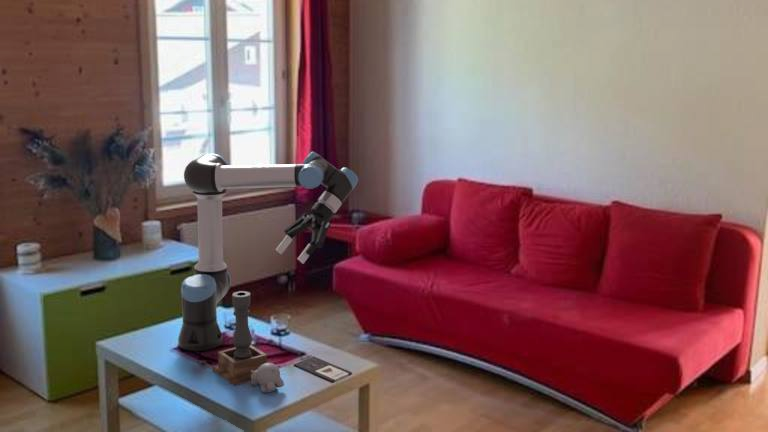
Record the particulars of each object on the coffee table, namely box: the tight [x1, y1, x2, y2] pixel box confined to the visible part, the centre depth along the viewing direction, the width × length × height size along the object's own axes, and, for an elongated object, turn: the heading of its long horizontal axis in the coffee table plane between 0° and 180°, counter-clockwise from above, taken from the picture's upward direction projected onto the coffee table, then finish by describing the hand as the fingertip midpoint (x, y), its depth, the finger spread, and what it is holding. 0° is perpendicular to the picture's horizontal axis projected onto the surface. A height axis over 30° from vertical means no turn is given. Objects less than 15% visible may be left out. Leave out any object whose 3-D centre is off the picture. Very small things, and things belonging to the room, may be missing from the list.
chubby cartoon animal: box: [250, 362, 285, 393], centre depth 238 cm, size 7×12×8 cm, turn 49°
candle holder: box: [231, 290, 253, 361], centre depth 247 cm, size 6×6×25 cm
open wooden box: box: [212, 344, 268, 386], centre depth 249 cm, size 14×14×6 cm
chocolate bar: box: [293, 355, 353, 383], centre depth 253 cm, size 9×1×18 cm
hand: (289, 256), depth 260 cm, fingers open, 13 cm apart
